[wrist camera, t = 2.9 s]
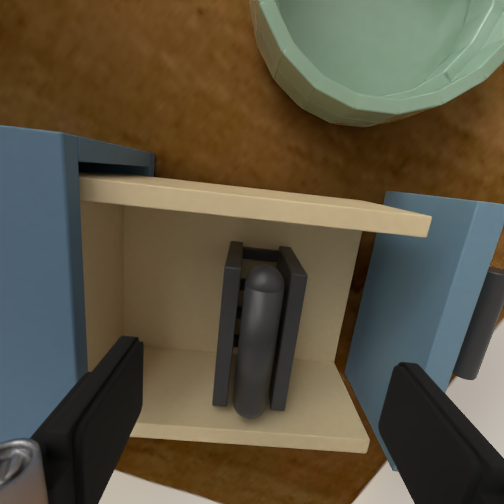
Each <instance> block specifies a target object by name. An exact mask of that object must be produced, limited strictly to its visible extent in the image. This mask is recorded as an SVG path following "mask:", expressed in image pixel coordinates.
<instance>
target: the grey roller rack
mask: <svg viewBox="0 0 504 504" xmlns="http://www.w3.org/2000/svg"><path fill="white" fill-rule="evenodd" d="M242 259H252V260H261V261H271V262H277V264H276V268H274V267H272V266H269V265H261V266H257V267H256V268H254V269H252V270H251V271H250V273H249V274H248V276H247V278H246V279H245V278H241V271H242ZM307 278H308V275H307V273H306V272H305V270H304V268H303V267H302V265H301V263H300V262H299V260H298V258H297V257H296V255H295V253H294V252H293V250H292V248H291V247H285V246H279V250H273V249H263V248H254V247H244V246H243V242H238V241H231V242H230V246H229V250H228V254H227V258H226V262H225V266H224V275H223V287H222V298H221V309H220V320H219V331H218V343H217V354H216V365H215V376H214V387H213V398H212V406H220V407H226V406H227V402H228V393H229V383H230V374H231V364H232V355H233V347H238V352H237V361H236V370H235V379H234V388H233V397H232V401H233V406H234V409H235V410H236V412H237V413H238V414H239V415H240V416H241V417H243V418H246V419H254V418H256V417H258V416H260V415H261V414H262V413H263V412H264V410H265V408H266V405H267V400H268V394H269V403H270V409H271V410H274V411H284V410H285V406H286V400H287V394H288V388H289V383H290V377H291V371H292V365H293V359H294V354H295V348H296V342H297V336H298V330H299V325H300V319H301V313H302V307H303V301H304V296H305V290H306V284H307ZM239 290H242V291H244V298H243V307H240V306H238V299H239ZM236 319H241V325H240V334H239V335H237V334H235V327H236Z"/></svg>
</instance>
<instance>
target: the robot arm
mask: <svg viewBox="0 0 504 504" xmlns="http://www.w3.org/2000/svg"><path fill="white" fill-rule="evenodd" d="M143 355H144V344H143V342H141V341H139V338H138V337H132V336H121V337H120V338H119V339H118V340H117V341H116V343H115V344H114V345H113V346H112V347H111V349H110V350H109V351H108V352H107V354H106V355H105V356H104V357H103V358H102V360H101V361H100V362H99V363H98V365H97V366H96V367H95V368H94V369H93V371H92V372H87V373H85V374H84V375H83V376H82V377H81V378H80V379H79V381H78V382H77V383H76V384H75V385H74V387H73V388H72V389H71V390H70V391H69V392H68V394H67V395H66V396H65V397H64V398H63V399H62V401H61V402H60V403H59V404H58V405H57V407H56V408H55V409H54V410H53V411H52V412H51V414H50V415H49V416H48V417H47V418H46V420H45V421H44V422H43V423H42V424H41V425H40V427H39V428H38V429H37V430H36V431H35V432H34V434H33V435H32V436H31V437H30V438H15V439H10V440H7V441H4V442H1V443H0V504H98V503H99V500H100V499H101V497H102V494H103V492H104V490H105V488H106V486H107V484H108V481H109V479H110V477H111V475H112V473H113V471H114V469H115V467H116V464H117V462H118V460H119V458H120V456H121V454H122V452H123V449H124V447H125V445H126V443H127V441H128V439H129V437H130V434H131V432H132V430H133V428H134V426H135V424H136V422H137V419H138V417H139V415H140V413H141V409H142V404H143ZM378 429H379V433H380V436H381V438H382V440H383V442H384V444H385V446H386V448H387V450H388V452H389V454H390V456H391V457H392V459H393V461H394V463H395V465H396V467H397V469H398V471H399V473H400V475H401V477H402V479H403V481H404V483H405V485H406V487H407V489H408V491H409V493H410V495H411V497H412V499H413V501H414V503H415V504H504V458H503V457H502V456H501V455H500V454H499V453H498V452H497V451H496V449H495V448H494V447H493V446H492V445H491V444H490V443H489V442H488V441H487V440H486V438H485V437H484V436H483V435H482V434H481V433H480V432H479V431H478V430H477V428H476V427H475V426H474V425H473V424H472V423H471V422H470V421H469V420H468V418H466V416H465V415H464V414H463V413H462V412H461V411H460V410H459V409H458V407H457V406H456V405H455V404H454V403H453V402H452V401H451V400H450V399H449V398H448V396H447V395H446V394H445V393H444V392H443V391H442V390H441V389H440V388H439V386H438V385H437V384H436V383H435V382H434V381H433V380H432V379H431V378H430V376H429V375H428V374H427V373H426V372H425V371H424V370H423V369H422V368H421V366H420V365H418V364H417V363H409V362H400V363H399V364H398V365H396V366H394V368H393V371H392V375H391V379H390V382H389V386H388V390H387V393H386V397H385V401H384V404H383V408H382V412H381V415H380V419H379V423H378Z"/></svg>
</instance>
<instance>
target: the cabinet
mask: <svg viewBox="0 0 504 504" xmlns="http://www.w3.org/2000/svg"><path fill="white" fill-rule="evenodd" d="M154 165H155V154H154V153H152V152H147V151H143V150H139V149H134V148H130V147H125V146H121V145H117V144H112V143H108V142H103V141H99V140H95V139H90V138H86V137H81V136H77V135H72V134H68V133H63V132H57V131H49V130H40V129H32V128H23V127H15V126H6V125H0V443H1V442H4V441H7V440H10V439H15V438H30V437H31V436H32V435H33V434H34V432H35V431H36V430H37V429H38V428H39V427H40V425H41V424H42V423H43V422H44V421H45V420H46V418H47V417H48V416H49V415H50V414H51V412H52V411H53V410H54V409H55V408H56V407H57V405H58V404H59V403H60V402H61V401H62V399H63V398H64V397H65V396H66V395H67V394H68V392H69V391H70V390H71V389H72V388H73V387H74V385H75V384H76V383H77V382H78V381H79V379H80V378H81V377H82V376H83V375H84V374H85V373H87V372H88V357H87V336H86V316H85V295H84V274H83V254H82V233H81V212H80V191H79V172H99V173H123V174H131V175H140V176H149V177H154Z"/></svg>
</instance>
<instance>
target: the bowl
mask: <svg viewBox="0 0 504 504" xmlns="http://www.w3.org/2000/svg"><path fill="white" fill-rule="evenodd" d="M248 1H249V7H250V13H251V18H252V24H253V30H254V36H255V41H256V43H257V46H258V49H259V51H260V53H261V55H262V57H263V59H264V61H265V63H266V65H267V67H268V69H269V71H270V73H271V75H272V77H273V79H275V82H276V83H277V84H278V85H279V86H280V87H281V88H282V89H283V90H284V91H285V92H286V93H287V94H288V96H289V97H290V98H291V99H292V100H293V101H294V102H295V103H296V104H297V105H298V106H299V107H300V108H302V109H304V110H306V111H308V112H309V113H311V114H313V115H315V116H317V117H319V118H321V119H323V120H325V121H327V122H329V123H332V124H339V125H347V126H355V127H363V128H364V127H371V126H375V125H380V124H385V123H389V122H394V121H398V120H401V119H404V118H407V117H410V116H413V115H415V114H418V113H421V112H424V111H427V110H430V109H432V108H435V107H438V106H441V105H443V104H445V103H447V102H449V101H450V100H452V99H454V98H456V97H457V96H459V95H461V94H463V93H464V92H466V91H468V90H470V89H471V88H473V87H475V86H477V85H478V84H480V83H482V82H484V81H485V80H486V79H487V78H488V77H489V76H490V75H491V74H492V73H493V72H494V71H495V70H496V69H497V68H498V67H499V66H500V65H501V64H502V63H503V62H504V0H248Z"/></svg>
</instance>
